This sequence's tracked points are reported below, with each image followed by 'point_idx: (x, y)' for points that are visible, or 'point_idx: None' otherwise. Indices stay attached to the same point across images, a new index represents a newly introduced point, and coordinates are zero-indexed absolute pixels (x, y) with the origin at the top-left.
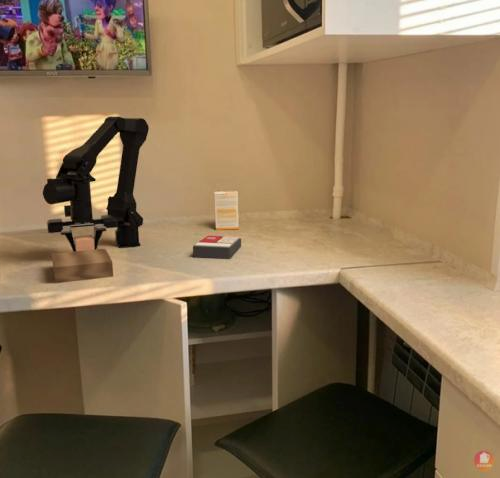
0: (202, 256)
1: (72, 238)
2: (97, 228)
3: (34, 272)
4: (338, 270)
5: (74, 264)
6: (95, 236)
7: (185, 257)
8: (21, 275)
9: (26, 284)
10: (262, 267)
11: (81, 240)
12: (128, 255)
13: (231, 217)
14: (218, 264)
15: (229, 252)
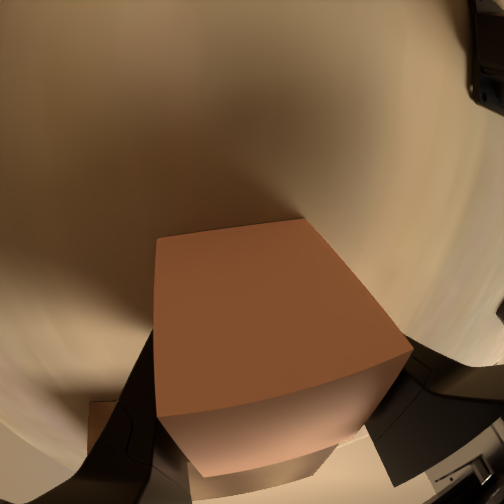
0: (500, 319)
1: (184, 496)
2: (430, 473)
3: (46, 415)
4: (500, 359)
5: (213, 497)
6: (375, 444)
7: (492, 311)
8: (26, 421)
9: None
10: (487, 359)
11: (255, 466)
12: (441, 270)
13: None
14: (478, 353)
15: None
